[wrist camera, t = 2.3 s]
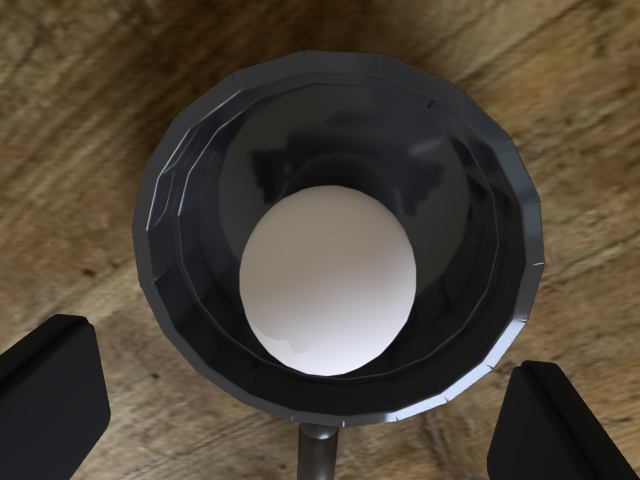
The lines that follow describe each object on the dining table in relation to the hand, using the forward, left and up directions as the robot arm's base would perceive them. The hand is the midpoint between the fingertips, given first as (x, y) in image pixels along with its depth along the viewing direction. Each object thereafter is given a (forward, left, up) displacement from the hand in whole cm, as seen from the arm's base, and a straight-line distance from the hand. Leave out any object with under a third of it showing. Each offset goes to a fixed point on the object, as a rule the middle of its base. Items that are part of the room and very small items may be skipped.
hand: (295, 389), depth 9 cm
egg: (0, 0, -9) cm, 9 cm away
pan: (0, 0, -9) cm, 9 cm away
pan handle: (+11, 0, -7) cm, 14 cm away
